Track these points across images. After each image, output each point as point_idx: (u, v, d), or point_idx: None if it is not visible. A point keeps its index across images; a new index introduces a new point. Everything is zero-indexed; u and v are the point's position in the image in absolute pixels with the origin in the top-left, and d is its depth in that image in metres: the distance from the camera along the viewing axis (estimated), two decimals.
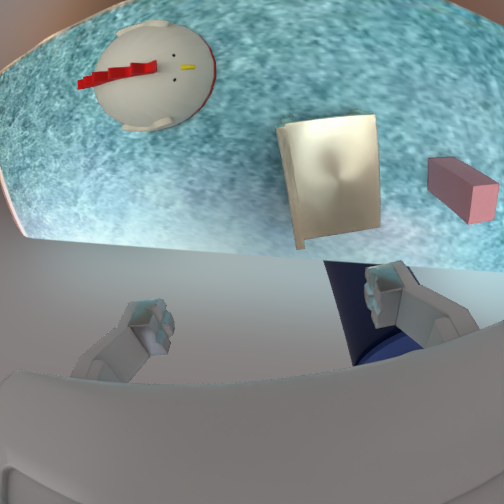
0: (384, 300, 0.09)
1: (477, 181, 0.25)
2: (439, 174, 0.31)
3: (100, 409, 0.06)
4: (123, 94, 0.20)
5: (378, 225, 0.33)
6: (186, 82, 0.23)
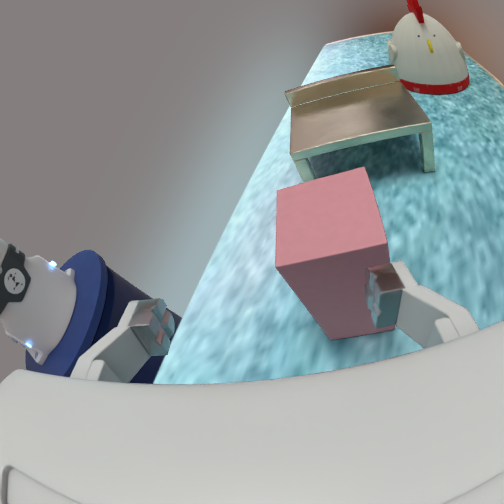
0: (384, 300, 0.09)
1: None
2: None
3: (100, 409, 0.06)
4: (405, 16, 0.26)
5: (292, 151, 0.26)
6: (419, 46, 0.26)
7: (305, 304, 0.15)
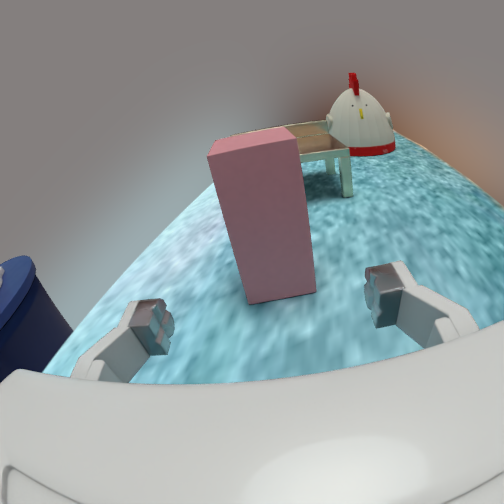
0: (384, 300, 0.09)
1: None
2: None
3: (100, 409, 0.06)
4: None
5: None
6: (352, 114, 0.43)
7: (226, 220, 0.17)
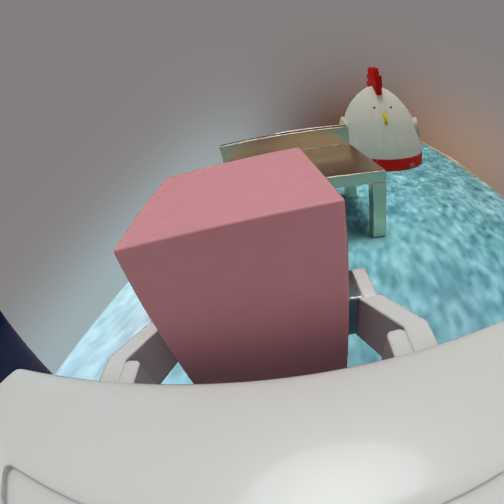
0: None
1: None
2: None
3: (100, 409, 0.06)
4: (362, 90, 0.36)
5: None
6: (373, 118, 0.34)
7: (182, 364, 0.08)
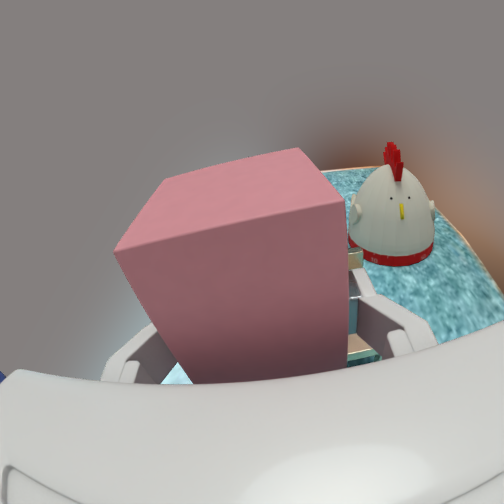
0: None
1: None
2: None
3: (100, 409, 0.06)
4: (379, 170, 0.35)
5: None
6: (389, 211, 0.33)
7: (182, 364, 0.08)
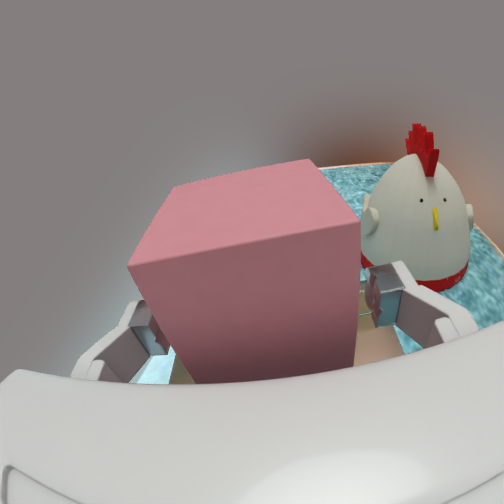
0: (384, 300, 0.09)
1: None
2: None
3: (100, 410, 0.06)
4: (403, 161, 0.24)
5: None
6: (418, 219, 0.22)
7: (192, 374, 0.08)
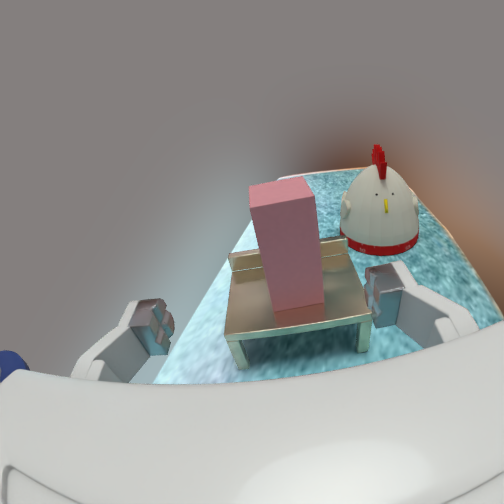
0: (384, 300, 0.09)
1: None
2: None
3: (100, 410, 0.06)
4: (367, 169, 0.40)
5: (227, 332, 0.26)
6: (375, 206, 0.38)
7: (261, 252, 0.24)
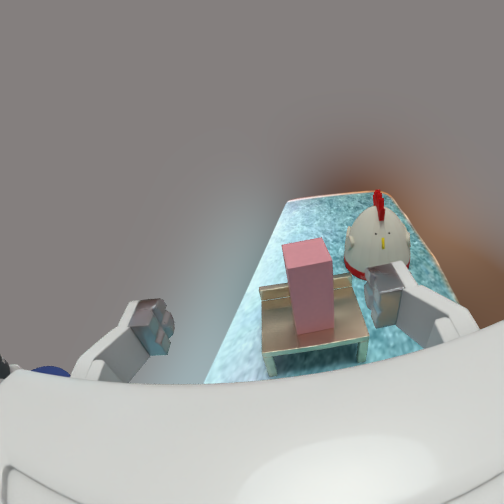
0: (384, 300, 0.09)
1: None
2: None
3: (100, 409, 0.06)
4: (368, 210, 0.49)
5: (264, 351, 0.35)
6: (374, 243, 0.47)
7: (292, 297, 0.33)
